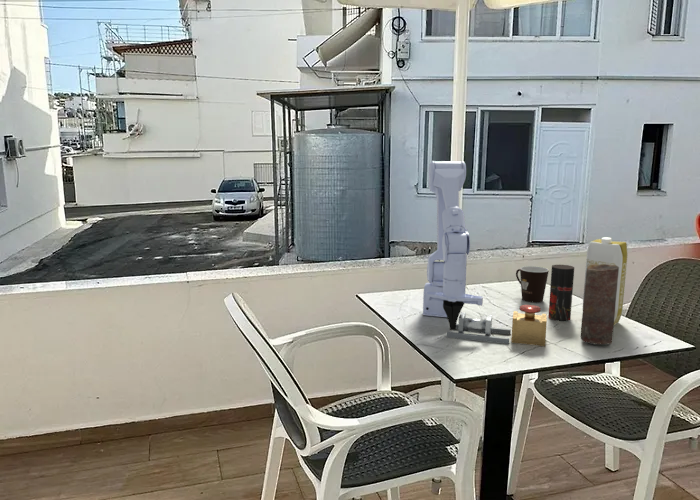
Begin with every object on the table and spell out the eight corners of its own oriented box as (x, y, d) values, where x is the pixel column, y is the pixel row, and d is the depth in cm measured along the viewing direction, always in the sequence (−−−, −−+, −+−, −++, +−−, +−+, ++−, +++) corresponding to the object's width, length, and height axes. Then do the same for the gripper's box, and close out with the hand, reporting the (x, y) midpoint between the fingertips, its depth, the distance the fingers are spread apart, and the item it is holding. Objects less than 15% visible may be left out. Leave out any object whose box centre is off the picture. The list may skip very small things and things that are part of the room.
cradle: (446, 337, 145) (446, 332, 145) (451, 327, 153) (451, 323, 153) (508, 343, 141) (509, 339, 140) (510, 333, 148) (510, 329, 148)
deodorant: (572, 322, 158) (576, 269, 155) (549, 320, 159) (553, 268, 156) (568, 315, 163) (572, 265, 160) (546, 314, 164) (550, 264, 162)
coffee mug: (550, 303, 175) (552, 272, 174) (522, 303, 176) (524, 272, 174) (538, 293, 187) (540, 264, 185) (512, 293, 187) (514, 264, 185)
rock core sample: (609, 351, 136) (616, 269, 132) (577, 345, 140) (583, 266, 136) (614, 341, 142) (621, 263, 138) (582, 336, 146) (589, 260, 142)
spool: (458, 336, 146) (458, 317, 145) (460, 330, 151) (461, 312, 150) (489, 339, 144) (490, 320, 143) (491, 333, 148) (492, 315, 147)
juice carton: (578, 321, 158) (585, 236, 153) (589, 315, 164) (596, 233, 159) (613, 329, 152) (621, 241, 147) (623, 322, 157) (631, 237, 153)
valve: (511, 342, 141) (513, 309, 140) (512, 334, 147) (514, 302, 146) (545, 346, 139) (547, 312, 137) (544, 338, 145) (547, 305, 143)
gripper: (423, 279, 145) (422, 330, 147) (481, 284, 140) (479, 336, 143) (429, 273, 151) (427, 322, 154) (484, 278, 147) (482, 328, 149)
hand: (452, 328), depth 149 cm, fingers closed
